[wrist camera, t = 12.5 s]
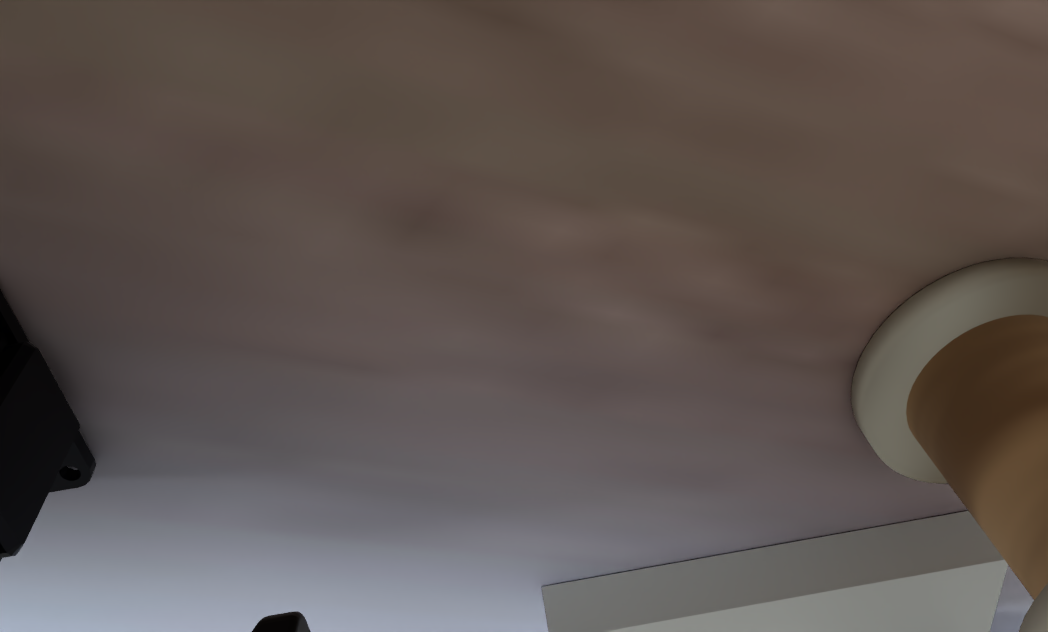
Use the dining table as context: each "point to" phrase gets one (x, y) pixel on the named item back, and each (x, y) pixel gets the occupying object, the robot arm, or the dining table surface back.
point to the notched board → (804, 586)
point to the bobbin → (971, 404)
